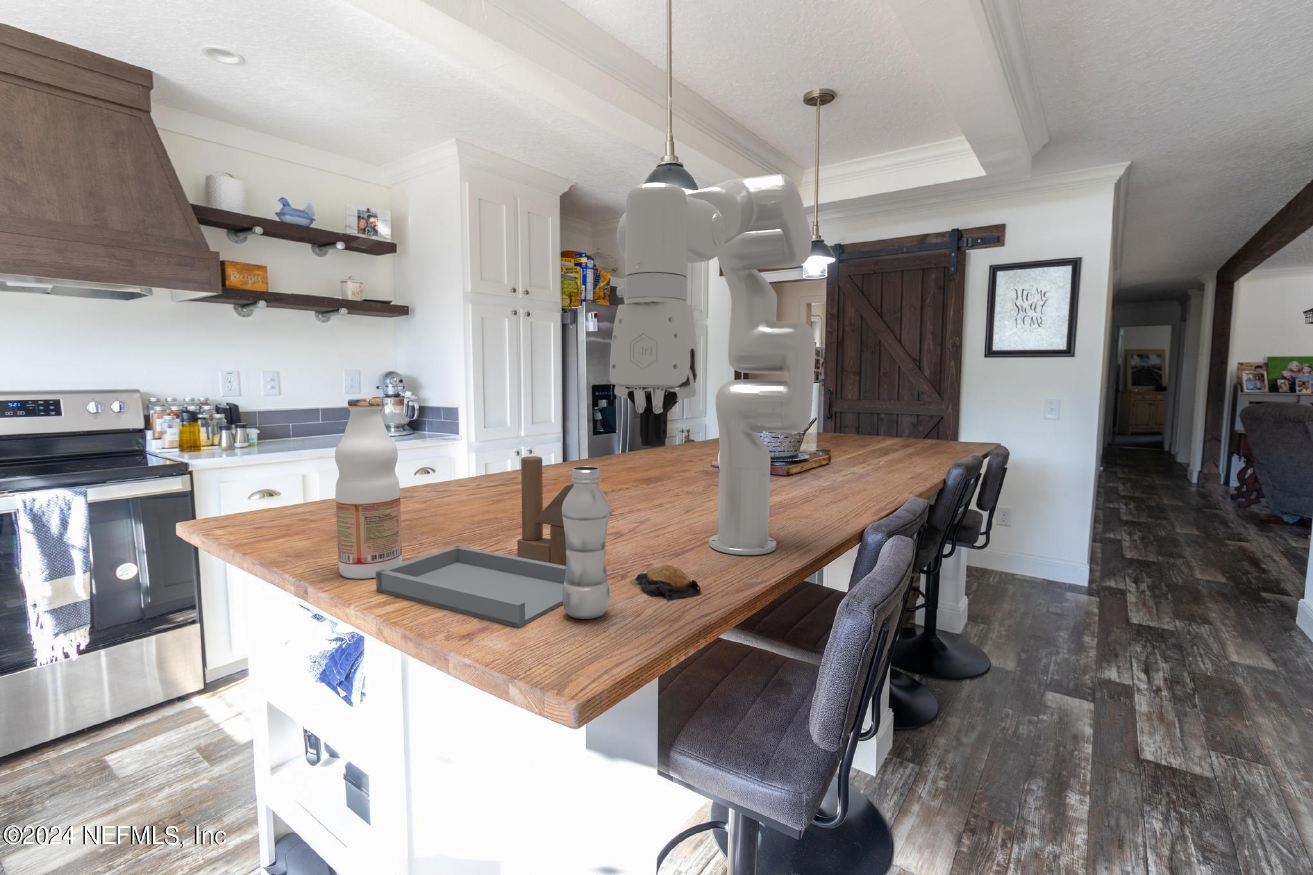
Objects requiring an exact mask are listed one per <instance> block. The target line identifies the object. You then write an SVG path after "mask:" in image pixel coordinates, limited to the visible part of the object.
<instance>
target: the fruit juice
mask: <svg viewBox="0 0 1313 875" xmlns="http://www.w3.org/2000/svg"><path fill="white" fill-rule="evenodd" d="M382 406H383V402H382V399H381V398H349V399H348V400H347V409H348V410H349V412H350V413H349V417H348V420H347V424H346V427H345V430H344V433H343V435H342V437H341V440H340V441H339V443H338V445H337V446H336V448H335V452H334V454H335V455H334V460H335V465H336V467H337V470H338V478H337V480H336V482H335V495H334V496H335V513H336V514H335V515H336V534H337V535H336V537H337V557H338V559H337V560H338V571H339V574H340V575H341V576H342V577H344V578H347V579H352V580H353V579H355V580H357V579H358V580H361V579H362V580H365V579H372V578H375V579H376V571H379V570H382V569H385V568H389V567H392V566H395V565H398V564H401V563H403V550H402V549H403V548H402V547H403V545H402V520H401V519H402V515H401V514H402V512H401V488H400V482H399V481H400V480H399V478H398V475H397V473H396V467H397V462H398V459H399V453H398V448H397V445H396V444H395V442H394V440H393V439H392V438H391V436H390V435H389V432H388V430H387V428H386V425H385V422H384V420H383V417H382V414H381V410H382V409H383V408H382Z"/></svg>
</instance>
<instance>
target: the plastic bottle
mask: <svg viewBox="0 0 1313 875" xmlns="http://www.w3.org/2000/svg"><path fill="white" fill-rule="evenodd" d="M600 471H601V470H600V467H598V466H590V465H587V466H586V465H585V466H582V465H581V466H574V467H572V474H571V475H572V476H571V484H574V486H573V488H572V489H571V490H570V492H569V493H568V494H567V496H566V498H565V500H564V502H563V505H562V515H563V523H564V530H565V539H566V547H567V549H566V557H567V558H566V571H565V581H564V585H563V592H562V602H563V605H562V607H563V610H564V611H565V612H566V614H567V615H568V616H570V617H572V618H575V619H579V620H580V619H581V620H590V619H595V618H599V617H601V616H604V614H606V612H607V610H608V609H609V606H610V600H611V592H610V591H611V590H610V585H609V580H608V573H607V561H606V560H607V558H606V549H607V548H606V547H607V534H608V526H609V521H610V520H609V518H610V510H611V508H610V504H609V500H608V497H606V495H605V493H604V492H603V490H602V489H601V487H600V486H599V483H601V477H600V476H601V475H600V474H601V473H600Z"/></svg>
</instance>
